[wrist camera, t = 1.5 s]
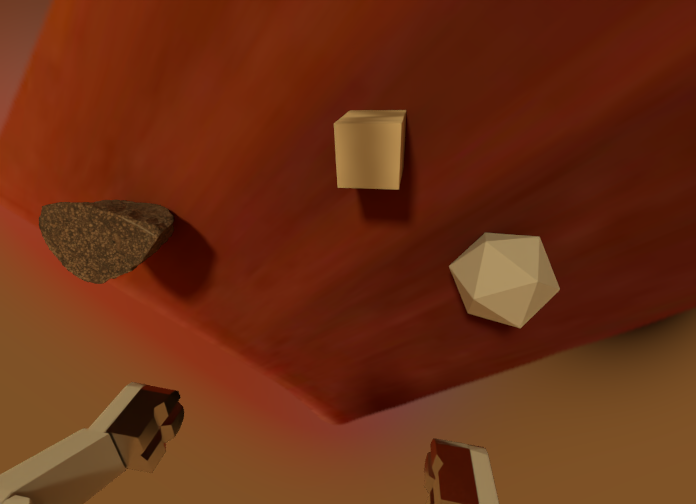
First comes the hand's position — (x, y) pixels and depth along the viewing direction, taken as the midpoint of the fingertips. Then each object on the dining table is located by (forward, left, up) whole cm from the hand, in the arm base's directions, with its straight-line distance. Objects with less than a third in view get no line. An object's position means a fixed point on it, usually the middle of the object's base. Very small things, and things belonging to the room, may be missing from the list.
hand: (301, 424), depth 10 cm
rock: (+29, +6, -26) cm, 39 cm away
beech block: (+1, -3, -26) cm, 26 cm away
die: (-11, +9, -26) cm, 30 cm away
